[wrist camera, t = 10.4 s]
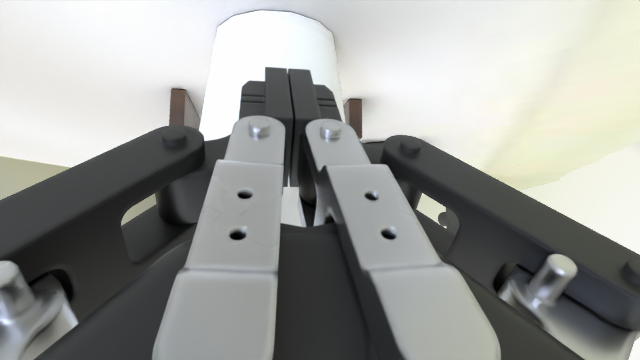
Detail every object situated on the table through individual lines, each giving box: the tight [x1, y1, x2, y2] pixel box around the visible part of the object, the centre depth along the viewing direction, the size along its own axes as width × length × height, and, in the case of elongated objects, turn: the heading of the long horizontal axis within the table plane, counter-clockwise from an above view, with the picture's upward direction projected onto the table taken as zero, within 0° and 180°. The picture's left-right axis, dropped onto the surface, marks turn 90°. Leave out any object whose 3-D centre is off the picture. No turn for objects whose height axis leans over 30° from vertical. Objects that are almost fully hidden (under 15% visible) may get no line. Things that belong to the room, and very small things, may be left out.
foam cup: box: [199, 10, 346, 227], centre depth 20 cm, size 10×9×13 cm
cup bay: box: [169, 89, 362, 140], centre depth 35 cm, size 13×14×3 cm
